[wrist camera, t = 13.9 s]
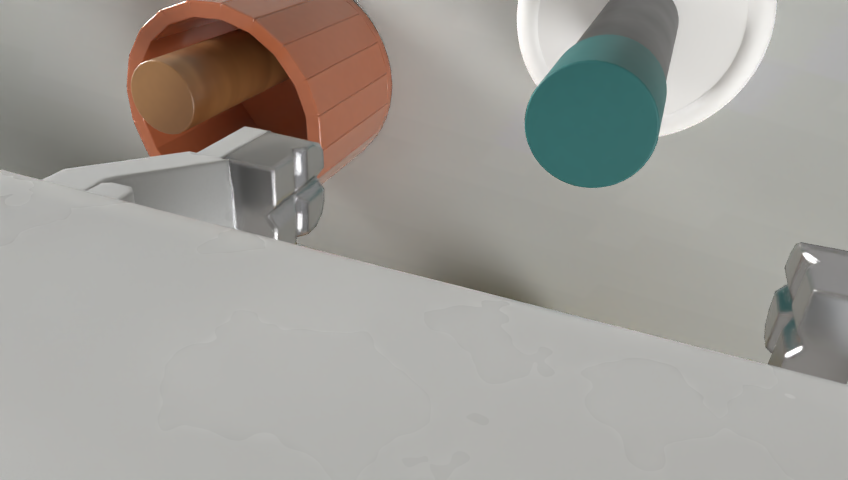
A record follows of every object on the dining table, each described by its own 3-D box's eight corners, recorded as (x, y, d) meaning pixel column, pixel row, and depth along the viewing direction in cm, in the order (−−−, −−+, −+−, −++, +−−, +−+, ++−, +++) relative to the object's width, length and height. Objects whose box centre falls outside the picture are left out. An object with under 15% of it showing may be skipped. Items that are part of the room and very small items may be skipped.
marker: (580, 28, 28) (498, 128, 17) (638, -37, 26) (587, 30, 15) (638, 80, 28) (591, 212, 17) (699, 20, 26) (690, 125, 16)
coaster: (490, 26, 33) (468, 41, 30) (638, -177, 27) (628, -181, 24) (649, 159, 33) (643, 187, 30) (828, -14, 27) (842, 0, 24)
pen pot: (200, 79, 40) (100, 121, 34) (277, -69, 34) (173, -53, 28) (331, 195, 41) (257, 258, 34) (428, 68, 35) (362, 115, 28)
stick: (266, 42, 37) (120, 100, 28) (291, -3, 35) (145, 43, 26) (308, 79, 37) (177, 149, 28) (335, 37, 35) (204, 96, 26)
